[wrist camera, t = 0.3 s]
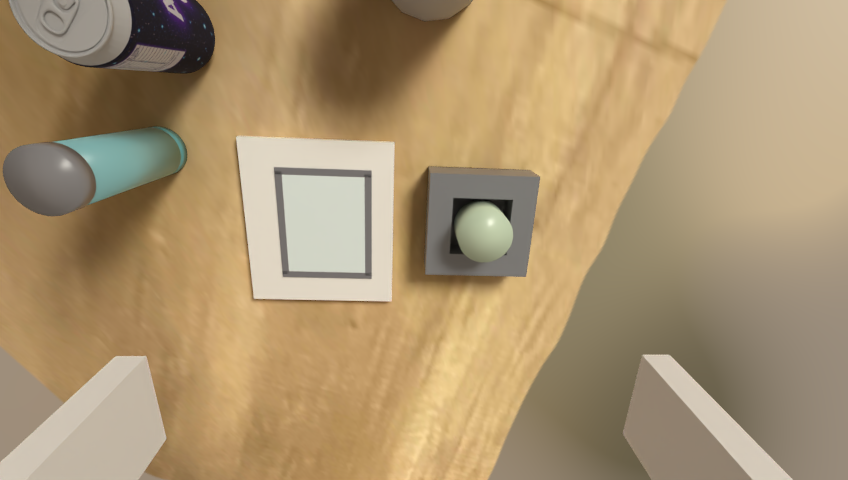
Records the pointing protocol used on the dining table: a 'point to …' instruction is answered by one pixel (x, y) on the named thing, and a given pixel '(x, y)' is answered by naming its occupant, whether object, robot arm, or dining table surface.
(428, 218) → the button housing
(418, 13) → the cup
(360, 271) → the picture board
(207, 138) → the dining table surface
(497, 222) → the button
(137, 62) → the beverage can
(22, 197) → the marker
